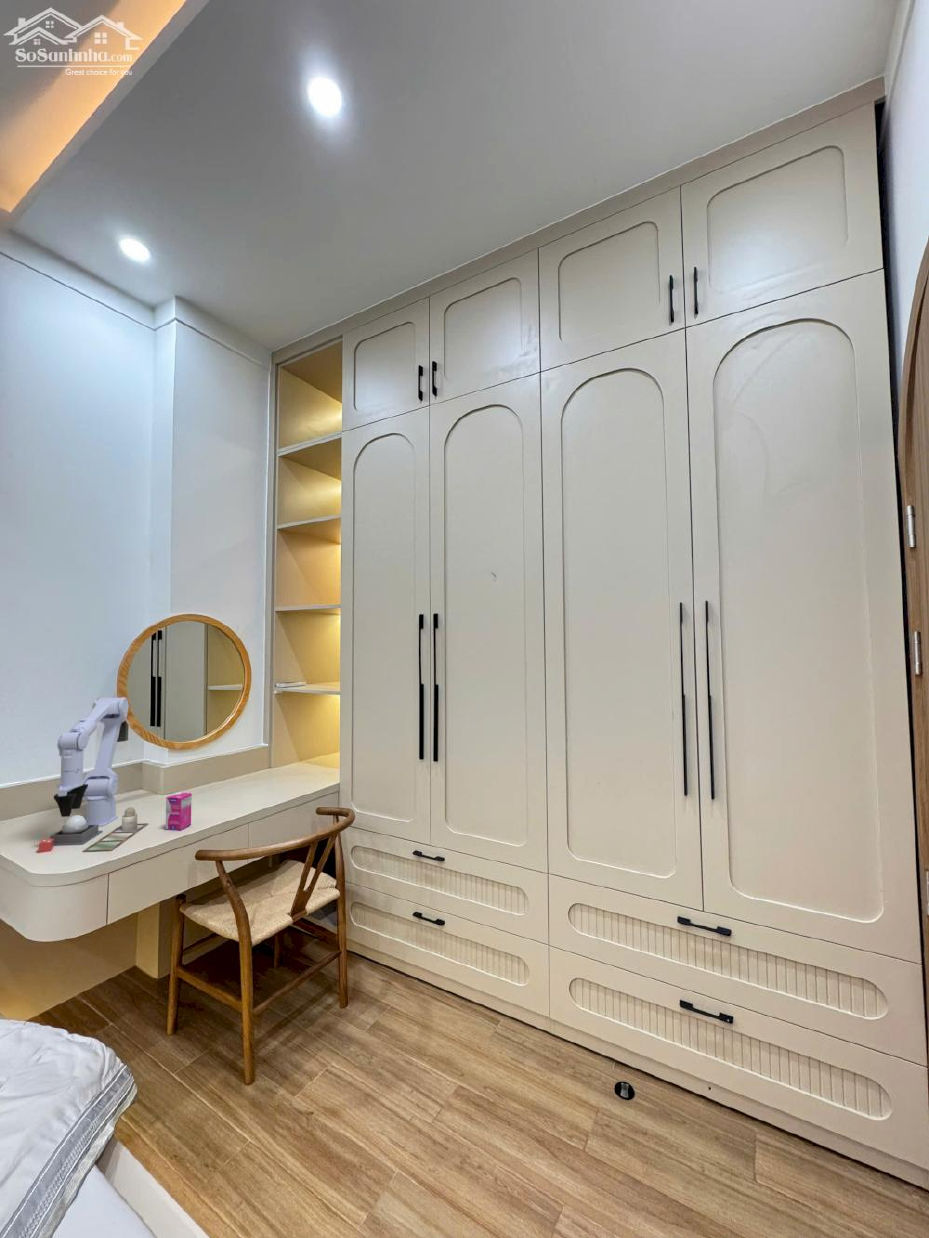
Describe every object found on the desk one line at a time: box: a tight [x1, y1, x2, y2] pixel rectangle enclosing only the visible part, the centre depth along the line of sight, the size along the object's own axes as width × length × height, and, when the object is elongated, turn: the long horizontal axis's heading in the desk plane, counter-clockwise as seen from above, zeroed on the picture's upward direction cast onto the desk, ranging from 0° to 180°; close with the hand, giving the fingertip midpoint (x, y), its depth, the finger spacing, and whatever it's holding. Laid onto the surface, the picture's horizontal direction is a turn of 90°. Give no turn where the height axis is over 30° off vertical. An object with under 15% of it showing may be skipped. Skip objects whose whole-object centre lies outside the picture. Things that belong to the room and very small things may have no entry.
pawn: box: [121, 806, 138, 831], centre depth 179 cm, size 4×4×7 cm
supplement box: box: [165, 791, 193, 832], centre depth 181 cm, size 6×6×12 cm
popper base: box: [49, 824, 103, 847], centre depth 170 cm, size 11×11×3 cm
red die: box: [38, 838, 55, 854], centre depth 161 cm, size 3×3×3 cm
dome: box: [61, 814, 89, 835], centre depth 171 cm, size 7×7×6 cm
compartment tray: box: [82, 822, 149, 853], centre depth 172 cm, size 23×8×1 cm, turn 7°
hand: (70, 812), depth 169 cm, fingers open, 7 cm apart
